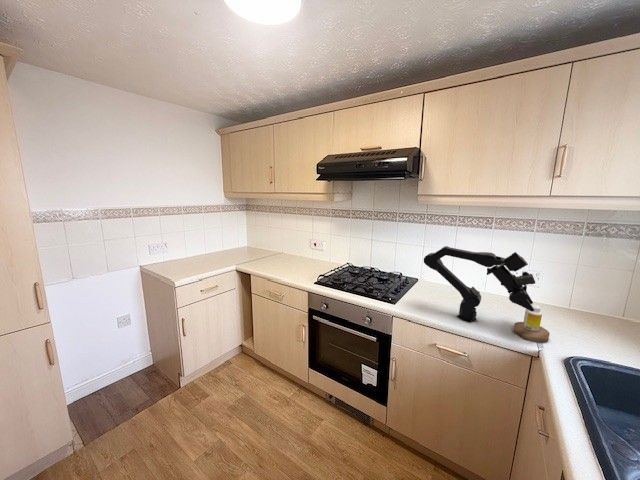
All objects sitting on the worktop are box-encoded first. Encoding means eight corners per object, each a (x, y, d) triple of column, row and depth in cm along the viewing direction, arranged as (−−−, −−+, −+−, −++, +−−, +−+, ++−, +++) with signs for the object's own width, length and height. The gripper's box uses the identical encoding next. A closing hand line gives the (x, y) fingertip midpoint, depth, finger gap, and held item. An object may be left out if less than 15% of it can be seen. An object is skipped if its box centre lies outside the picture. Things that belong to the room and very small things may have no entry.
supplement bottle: (542, 332, 111) (546, 309, 109) (528, 331, 111) (532, 308, 109) (533, 325, 116) (536, 304, 114) (519, 324, 117) (523, 303, 115)
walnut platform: (507, 331, 117) (508, 325, 116) (522, 325, 122) (523, 319, 122) (539, 345, 106) (540, 339, 106) (554, 338, 112) (555, 332, 111)
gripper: (523, 272, 105) (555, 305, 100) (522, 262, 120) (550, 291, 115) (497, 286, 111) (526, 318, 107) (499, 275, 126) (524, 303, 121)
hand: (532, 307), depth 112 cm, fingers open, 9 cm apart
